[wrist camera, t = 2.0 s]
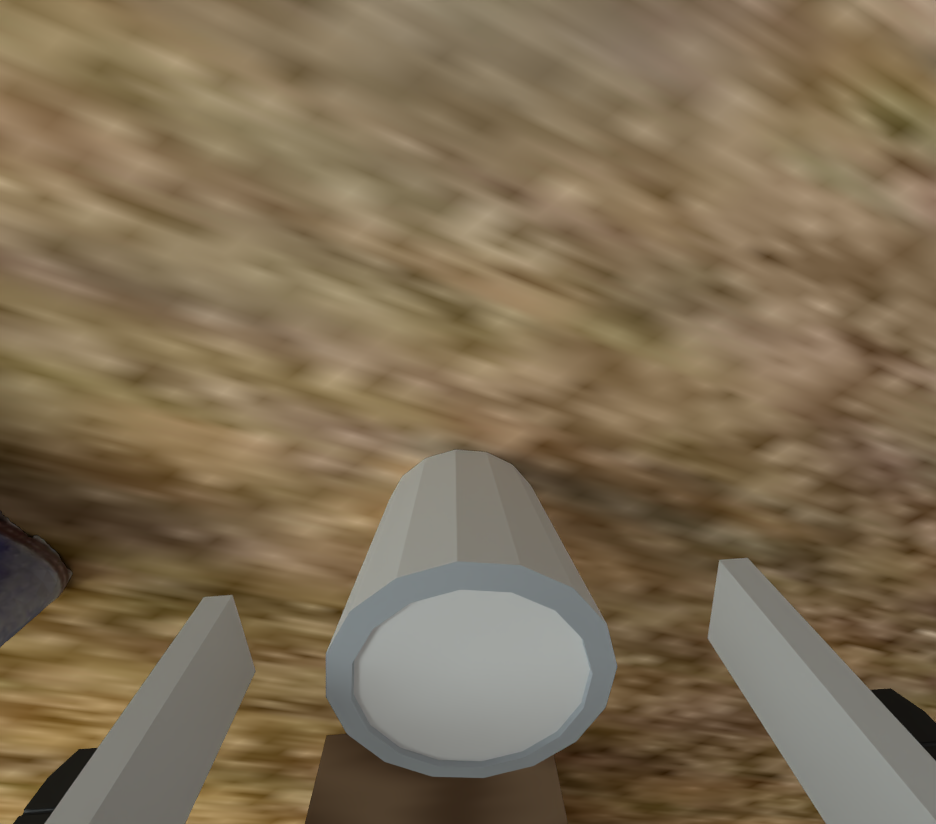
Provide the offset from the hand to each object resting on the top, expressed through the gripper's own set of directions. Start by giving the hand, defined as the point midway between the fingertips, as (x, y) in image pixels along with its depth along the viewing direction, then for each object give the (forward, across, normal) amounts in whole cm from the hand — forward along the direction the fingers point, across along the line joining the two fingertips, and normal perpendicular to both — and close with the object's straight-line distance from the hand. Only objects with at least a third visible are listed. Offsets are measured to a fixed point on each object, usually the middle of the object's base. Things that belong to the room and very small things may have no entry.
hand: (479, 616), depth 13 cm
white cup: (+5, 0, 0) cm, 5 cm away
